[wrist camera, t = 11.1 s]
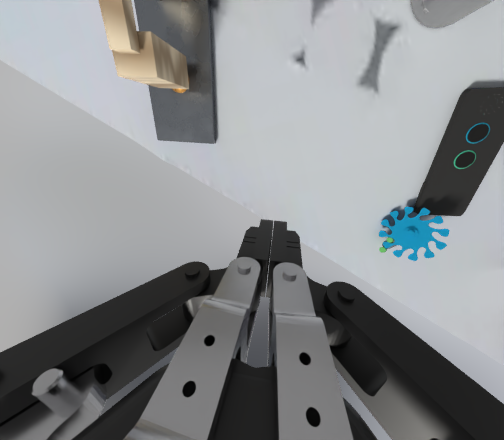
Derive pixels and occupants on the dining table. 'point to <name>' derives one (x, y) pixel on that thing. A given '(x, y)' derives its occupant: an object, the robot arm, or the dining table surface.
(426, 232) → the blue knobbed spoke wheel
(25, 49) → the dining table surface
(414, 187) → the dining table surface
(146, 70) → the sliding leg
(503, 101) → the smart home device
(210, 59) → the bolt plate
